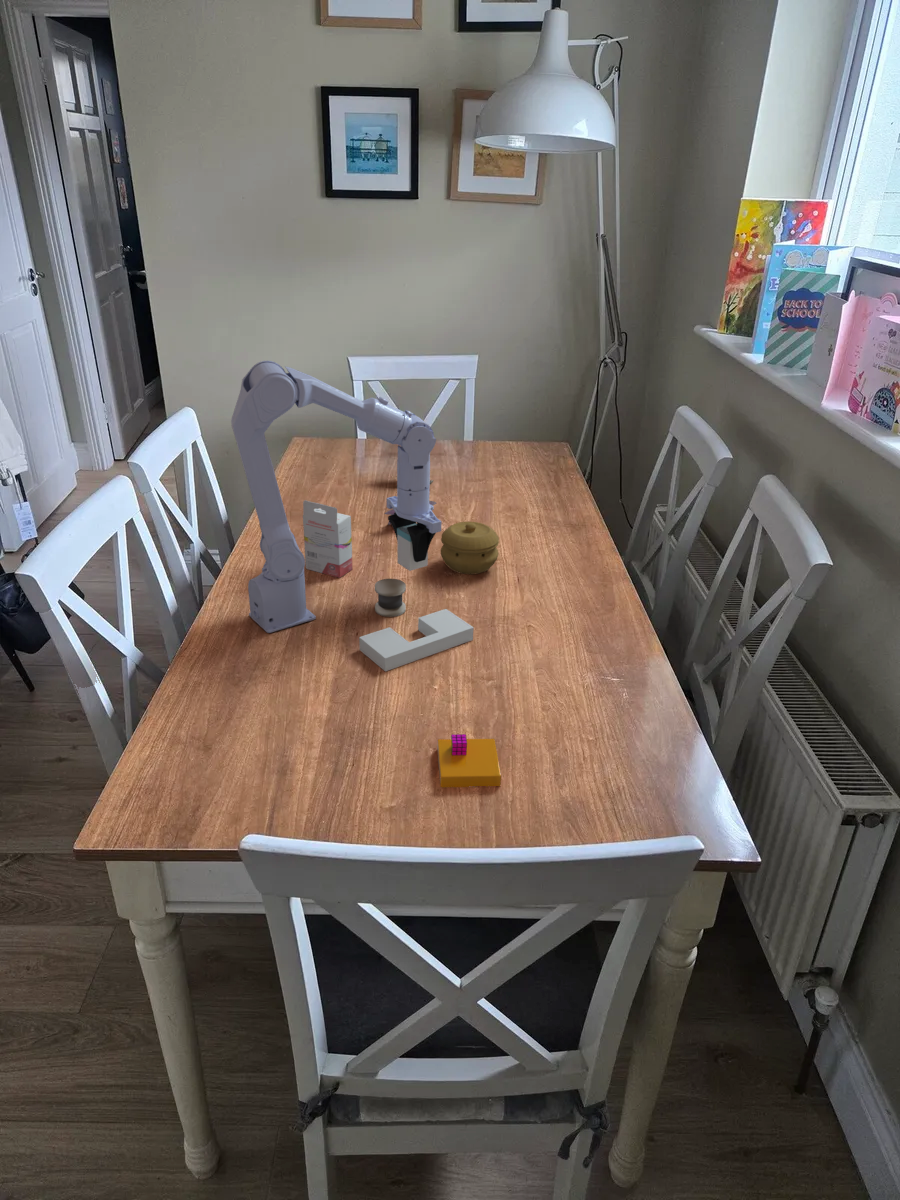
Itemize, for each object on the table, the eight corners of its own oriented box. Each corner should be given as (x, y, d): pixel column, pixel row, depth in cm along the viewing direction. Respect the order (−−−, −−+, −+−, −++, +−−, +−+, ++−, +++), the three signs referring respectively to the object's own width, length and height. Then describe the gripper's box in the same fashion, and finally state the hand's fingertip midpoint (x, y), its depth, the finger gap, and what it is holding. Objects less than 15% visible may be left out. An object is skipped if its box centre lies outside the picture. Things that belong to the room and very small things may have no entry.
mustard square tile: (493, 750, 114) (495, 726, 112) (500, 789, 107) (502, 763, 105) (437, 751, 114) (437, 727, 112) (440, 790, 107) (441, 764, 105)
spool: (385, 619, 145) (385, 595, 143) (369, 607, 149) (368, 583, 147) (411, 611, 148) (411, 587, 146) (394, 599, 152) (394, 575, 150)
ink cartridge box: (353, 569, 163) (352, 501, 156) (339, 578, 159) (337, 509, 152) (319, 560, 167) (316, 492, 160) (304, 568, 163) (300, 500, 156)
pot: (507, 565, 167) (510, 520, 163) (480, 586, 158) (482, 539, 154) (458, 551, 172) (460, 508, 168) (429, 571, 163) (430, 526, 159)
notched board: (385, 671, 130) (385, 658, 129) (359, 649, 136) (359, 637, 135) (472, 639, 140) (473, 627, 139) (445, 620, 146) (445, 608, 144)
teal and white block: (409, 571, 147) (409, 535, 143) (397, 563, 150) (397, 528, 146) (428, 565, 149) (428, 530, 146) (415, 557, 152) (415, 523, 148)
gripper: (456, 493, 139) (453, 564, 145) (409, 470, 149) (408, 537, 156) (422, 501, 135) (421, 574, 142) (376, 477, 145) (377, 545, 152)
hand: (412, 555), depth 148 cm, fingers closed on teal and white block, 4 cm apart
